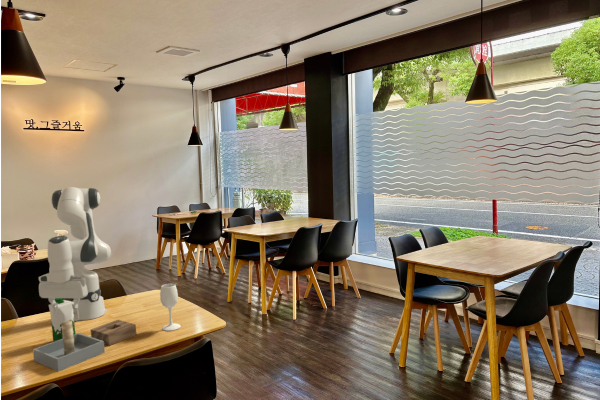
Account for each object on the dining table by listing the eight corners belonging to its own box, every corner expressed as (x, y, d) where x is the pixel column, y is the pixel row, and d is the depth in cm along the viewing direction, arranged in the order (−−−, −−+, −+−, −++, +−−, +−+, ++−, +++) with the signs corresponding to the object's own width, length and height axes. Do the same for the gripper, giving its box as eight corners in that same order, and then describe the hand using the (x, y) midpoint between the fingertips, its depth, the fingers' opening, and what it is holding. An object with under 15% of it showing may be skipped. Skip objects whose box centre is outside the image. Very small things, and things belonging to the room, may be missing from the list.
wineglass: (158, 328, 215) (155, 286, 213) (174, 323, 221) (171, 282, 219) (168, 332, 209) (164, 289, 207) (184, 326, 215) (181, 284, 214)
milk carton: (68, 336, 210) (64, 295, 209) (79, 339, 206) (75, 297, 204) (50, 343, 203) (45, 300, 201) (61, 346, 198) (56, 303, 196)
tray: (34, 360, 185) (32, 349, 184) (79, 343, 201) (78, 332, 200) (58, 371, 174) (57, 359, 173) (104, 352, 190) (103, 341, 189)
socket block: (91, 339, 204) (90, 329, 204) (118, 329, 216) (117, 319, 216) (109, 345, 197) (108, 334, 196) (136, 334, 208) (135, 324, 208)
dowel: (62, 356, 185) (59, 323, 184) (68, 352, 189) (65, 320, 188) (70, 356, 185) (67, 323, 184) (77, 352, 189) (74, 320, 187)
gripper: (89, 273, 185) (92, 305, 187) (45, 273, 189) (49, 304, 190) (79, 277, 179) (82, 310, 181) (34, 277, 183) (38, 310, 184)
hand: (65, 307), depth 185 cm, fingers open, 8 cm apart
